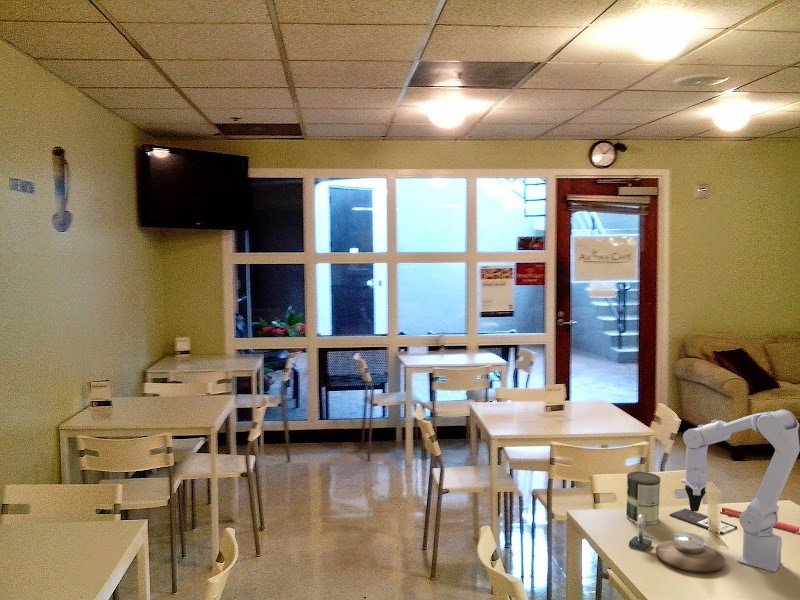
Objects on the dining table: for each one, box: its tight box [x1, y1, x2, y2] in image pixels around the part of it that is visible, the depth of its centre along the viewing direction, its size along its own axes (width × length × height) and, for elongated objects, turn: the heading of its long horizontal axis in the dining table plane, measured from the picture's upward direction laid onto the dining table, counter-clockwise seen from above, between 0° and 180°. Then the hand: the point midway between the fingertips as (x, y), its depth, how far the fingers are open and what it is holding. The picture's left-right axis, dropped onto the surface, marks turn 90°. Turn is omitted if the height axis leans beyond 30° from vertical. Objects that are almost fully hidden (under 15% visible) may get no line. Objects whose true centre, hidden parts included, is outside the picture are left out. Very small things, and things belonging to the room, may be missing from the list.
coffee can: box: [625, 471, 662, 525], centre depth 221 cm, size 10×10×14 cm
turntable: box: [655, 539, 726, 573], centre depth 192 cm, size 18×18×1 cm
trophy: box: [628, 514, 655, 552], centre depth 200 cm, size 6×5×10 cm
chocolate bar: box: [669, 508, 738, 536], centre depth 219 cm, size 9×1×18 cm
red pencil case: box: [721, 507, 800, 534], centre depth 219 cm, size 24×2×5 cm
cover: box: [673, 531, 705, 554], centre depth 196 cm, size 8×8×3 cm
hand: (694, 510), depth 207 cm, fingers closed
